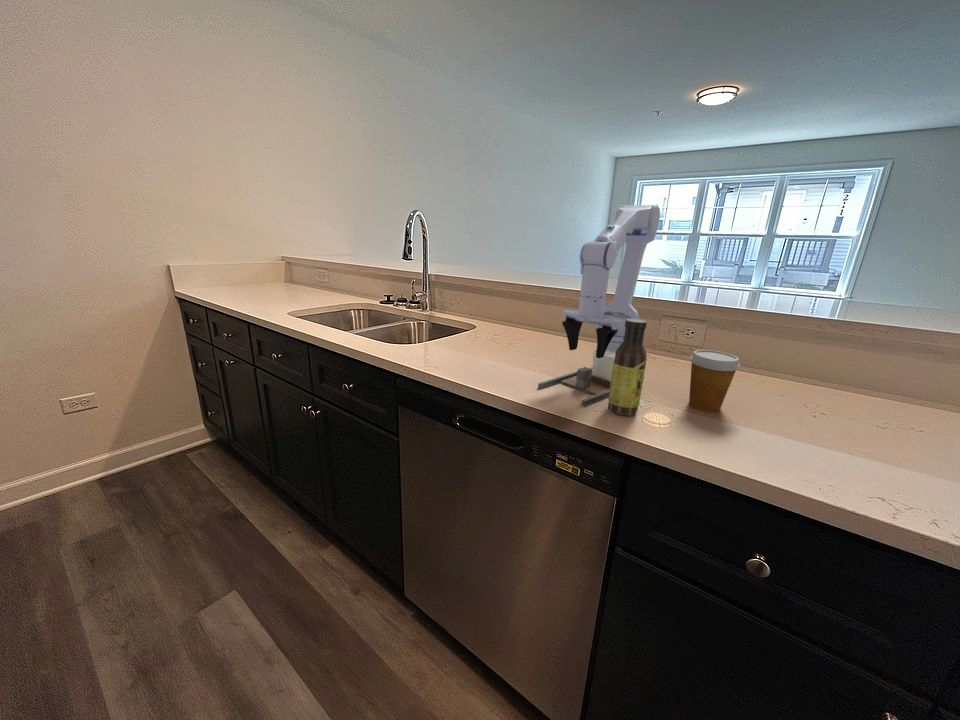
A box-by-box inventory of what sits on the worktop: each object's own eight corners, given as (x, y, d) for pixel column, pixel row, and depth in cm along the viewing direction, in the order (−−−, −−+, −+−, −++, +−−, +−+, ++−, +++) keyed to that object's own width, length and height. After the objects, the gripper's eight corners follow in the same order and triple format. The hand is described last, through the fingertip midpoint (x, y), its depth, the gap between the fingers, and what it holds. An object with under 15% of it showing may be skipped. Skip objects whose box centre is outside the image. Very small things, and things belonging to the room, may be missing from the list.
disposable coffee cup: (723, 401, 93) (735, 352, 89) (733, 418, 84) (746, 364, 80) (678, 394, 96) (688, 347, 92) (684, 410, 87) (695, 358, 83)
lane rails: (581, 373, 108) (582, 369, 108) (626, 388, 98) (627, 384, 98) (537, 387, 97) (538, 383, 96) (584, 406, 87) (584, 401, 87)
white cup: (619, 384, 99) (623, 358, 97) (590, 382, 100) (594, 355, 98) (615, 375, 105) (619, 350, 103) (589, 373, 107) (592, 348, 104)
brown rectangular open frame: (594, 371, 110) (597, 354, 108) (631, 383, 102) (634, 365, 100) (560, 383, 100) (562, 364, 99) (598, 396, 93) (601, 376, 91)
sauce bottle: (638, 419, 82) (654, 325, 76) (606, 414, 84) (620, 321, 77) (636, 407, 88) (651, 318, 82) (607, 402, 89) (619, 316, 83)
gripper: (556, 293, 93) (551, 348, 97) (611, 302, 83) (603, 364, 87) (574, 291, 97) (569, 344, 102) (629, 299, 87) (620, 358, 91)
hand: (586, 353), depth 94 cm, fingers open, 7 cm apart
